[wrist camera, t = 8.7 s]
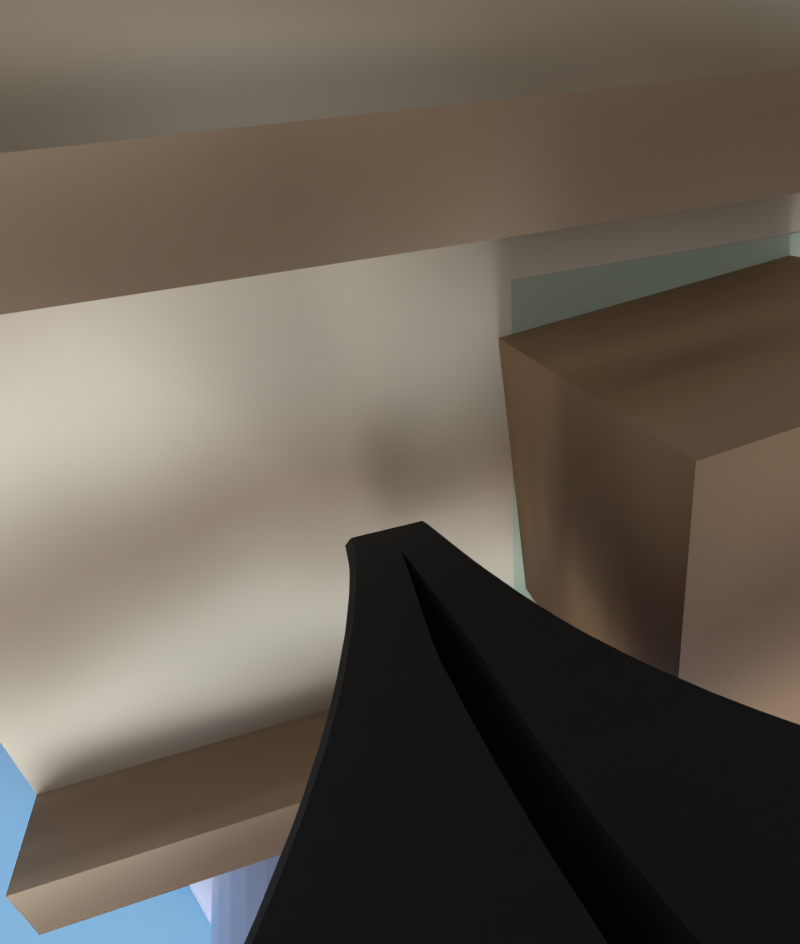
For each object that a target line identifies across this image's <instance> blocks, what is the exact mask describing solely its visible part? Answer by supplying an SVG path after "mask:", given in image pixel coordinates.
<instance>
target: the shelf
mask: <svg viewBox="0 0 800 944" xmlns="http://www.w3.org/2000/svg"><path fill="white" fill-rule="evenodd" d="M789 255H790V256H797V257H800V0H0V743H1V744H2V745H3V747H4V748H5V750H6V751H7V753H8V754H9V755H10V757H11V758H12V760H13V761H14V762H15V764H16V765H17V767H18V768H19V770H20V771H21V772H22V774H23V775H24V777H25V778H26V780H27V781H28V782H29V784H30V785H31V787H32V788H33V790H34V791H35V792H36V794H37V796H36V800H35V803H34V806H33V809H32V813H31V816H30V819H29V822H28V826H27V829H26V832H25V835H24V839H23V842H22V845H21V849H20V852H19V855H18V858H17V862H16V865H15V868H14V871H13V875H12V878H11V881H10V884H9V888H8V891H7V894H6V897H7V898H8V900H9V901H10V902H11V903H12V904H13V905H14V906H15V908H16V909H17V910H18V911H19V912H20V913H21V914H22V915H23V917H24V918H25V919H26V920H27V921H28V922H29V923H30V925H31V926H32V927H33V928H34V929H35V930H36V931H37V933H38V934H39V935H40V934H43V933H46V932H49V931H53V930H56V929H59V928H62V927H65V926H68V925H71V924H74V923H77V922H80V921H83V920H86V919H89V918H92V917H95V916H98V915H101V914H104V913H107V912H110V911H113V910H116V909H119V908H122V907H125V906H128V905H131V904H134V903H137V902H140V901H143V900H146V899H149V898H152V897H155V896H158V895H161V894H164V893H167V892H170V891H173V890H176V889H179V888H182V887H185V886H188V885H191V884H194V883H197V882H200V881H203V880H206V879H209V878H212V877H215V876H218V875H221V874H224V873H227V872H230V871H233V870H236V869H239V868H242V867H245V866H248V865H251V864H254V863H257V862H260V861H263V860H266V859H269V858H272V857H275V856H278V855H281V853H282V850H283V848H284V846H285V843H286V841H287V838H288V836H289V833H290V831H291V828H292V825H293V822H294V820H295V817H296V814H297V811H298V809H299V806H300V803H301V800H302V797H303V794H304V791H305V788H306V785H307V782H308V779H309V776H310V773H311V770H312V767H313V764H314V761H315V757H316V754H317V751H318V748H319V745H320V741H321V738H322V734H323V731H324V727H325V723H326V720H327V716H328V713H329V709H330V705H331V701H332V696H333V692H334V688H335V684H336V679H337V674H338V669H339V663H340V658H341V652H342V647H343V641H344V636H345V629H346V620H347V610H348V600H349V578H350V574H349V563H348V558H347V553H346V547H345V545H346V544H347V542H348V541H349V540H350V538H353V537H357V536H361V535H365V534H369V533H373V532H378V531H382V530H386V529H390V528H394V527H398V526H403V525H407V524H411V523H415V522H419V521H424V522H425V523H427V524H428V525H430V526H431V527H432V528H433V529H435V530H436V531H437V532H438V533H440V534H441V535H442V536H443V537H445V538H446V539H447V540H448V541H450V542H451V543H452V544H453V545H455V546H456V547H457V548H459V549H460V550H461V551H462V552H464V553H465V554H466V555H468V556H469V557H470V558H472V559H473V560H474V561H475V562H477V563H478V564H480V565H481V566H482V567H484V568H485V569H486V570H488V571H489V572H491V573H492V574H493V575H495V576H496V577H498V578H499V579H501V580H502V581H503V582H505V583H506V584H508V585H509V586H511V587H512V588H513V589H515V590H516V591H518V592H519V593H521V594H522V595H524V596H525V597H527V598H528V599H530V600H531V601H533V602H534V603H536V602H535V601H534V599H533V598H532V597H531V595H530V594H529V592H528V591H527V589H526V585H525V576H524V567H523V557H522V548H521V539H520V530H519V521H518V512H517V503H516V493H515V484H514V475H513V466H512V457H511V448H510V439H509V429H508V420H507V411H506V402H505V393H504V384H503V375H502V365H501V356H500V347H499V338H501V337H504V336H508V335H511V334H515V333H518V332H522V331H525V330H529V329H532V328H536V327H539V326H543V325H546V324H550V323H553V322H557V321H561V320H564V319H568V318H571V317H575V316H578V315H582V314H585V313H589V312H592V311H596V310H599V309H603V308H606V307H610V306H613V305H617V304H620V303H624V302H627V301H631V300H634V299H638V298H642V297H645V296H649V295H652V294H656V293H659V292H663V291H666V290H670V289H673V288H677V287H680V286H684V285H687V284H691V283H694V282H698V281H701V280H705V279H708V278H712V277H715V276H719V275H722V274H726V273H730V272H733V271H737V270H740V269H744V268H747V267H751V266H754V265H758V264H761V263H765V262H768V261H772V260H775V259H779V258H782V257H786V256H789Z"/></svg>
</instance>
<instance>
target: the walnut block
mask: <svg viewBox="0 0 800 944" xmlns="http://www.w3.org/2000/svg"><path fill="white" fill-rule="evenodd" d="M499 347H500V356H501V365H502V375H503V384H504V393H505V402H506V411H507V420H508V429H509V439H510V448H511V457H512V466H513V475H514V484H515V493H516V503H517V512H518V521H519V530H520V539H521V548H522V557H523V567H524V576H525V585H526V589H527V591H528V592H529V594H530V595H531V597H532V598H533V599H534V601H535V602H536V604H538V605H539V606H541V607H542V608H544V609H546V610H547V611H549V612H551V613H552V614H554V615H555V616H557V617H559V618H560V619H562V620H564V621H565V622H567V623H569V624H570V625H572V626H574V627H576V628H578V629H579V630H581V631H583V632H585V633H587V634H589V635H591V636H592V637H594V638H596V639H598V640H600V641H602V642H604V643H606V644H608V645H610V646H612V647H614V648H616V649H618V650H620V651H622V652H623V653H625V654H627V655H629V656H631V657H634V658H636V659H638V660H640V661H642V662H644V663H646V664H648V665H651V666H653V667H655V668H657V669H659V670H662V671H664V672H666V673H669V674H671V675H673V676H676V677H678V678H680V679H683V680H685V681H687V682H690V683H692V684H694V685H696V686H699V687H701V688H703V689H706V690H708V691H710V692H713V693H715V694H718V695H720V696H723V697H726V698H728V699H731V700H733V701H736V702H739V703H741V704H744V705H746V706H749V707H751V708H754V709H757V710H759V711H762V712H765V713H768V714H771V715H773V716H776V717H779V718H782V719H785V720H788V721H790V722H793V723H796V724H799V725H800V257H797V256H790V255H789V256H786V257H782V258H779V259H775V260H772V261H768V262H765V263H761V264H758V265H754V266H751V267H747V268H744V269H740V270H737V271H733V272H730V273H726V274H722V275H719V276H715V277H712V278H708V279H705V280H701V281H698V282H694V283H691V284H687V285H684V286H680V287H677V288H673V289H670V290H666V291H663V292H659V293H656V294H652V295H649V296H645V297H642V298H638V299H634V300H631V301H627V302H624V303H620V304H617V305H613V306H610V307H606V308H603V309H599V310H596V311H592V312H589V313H585V314H582V315H578V316H575V317H571V318H568V319H564V320H561V321H557V322H553V323H550V324H546V325H543V326H539V327H536V328H532V329H529V330H525V331H522V332H518V333H515V334H511V335H508V336H504V337H501V338H499Z"/></svg>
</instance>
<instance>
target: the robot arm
mask: <svg viewBox="0 0 800 944" xmlns="http://www.w3.org/2000/svg"><path fill="white" fill-rule="evenodd" d="M345 547H346V553H347V558H348V563H349V574H350V578H349V600H348V610H347V620H346V629H345V636H344V641H343V647H342V652H341V658H340V663H339V669H338V674H337V679H336V684H335V688H334V692H333V696H332V701H331V705H330V709H329V713H328V716H327V720H326V723H325V727H324V731H323V734H322V738H321V741H320V745H319V748H318V751H317V754H316V757H315V761H314V764H313V767H312V770H311V773H310V776H309V779H308V782H307V785H306V788H305V791H304V794H303V797H302V800H301V803H300V806H299V809H298V811H297V814H296V817H295V820H294V822H293V825H292V828H291V831H290V833H289V836H288V838H287V841H286V843H285V846H284V848H283V850H282V853H281V855H278V856H275V857H272V858H269V859H266V860H263V861H260V862H257V863H254V864H251V865H248V866H245V867H242V868H239V869H236V870H233V871H230V872H227V873H224V874H221V875H218V876H215V877H212V878H209V879H206V880H203V881H200V882H197V883H194V884H191V885H189V886H190V888H191V890H192V892H193V894H194V895H195V897H196V899H197V901H198V903H199V904H200V906H201V908H202V910H203V912H204V913H205V915H206V917H207V919H208V921H209V922H210V924H211V943H210V944H800V725H799V724H796V723H793V722H790V721H788V720H785V719H782V718H779V717H776V716H773V715H771V714H768V713H765V712H762V711H759V710H757V709H754V708H751V707H749V706H746V705H744V704H741V703H739V702H736V701H733V700H731V699H728V698H726V697H723V696H720V695H718V694H715V693H713V692H710V691H708V690H706V689H703V688H701V687H699V686H696V685H694V684H692V683H690V682H687V681H685V680H683V679H680V678H678V677H676V676H673V675H671V674H669V673H666V672H664V671H662V670H659V669H657V668H655V667H653V666H651V665H648V664H646V663H644V662H642V661H640V660H638V659H636V658H634V657H631V656H629V655H627V654H625V653H623V652H622V651H620V650H618V649H616V648H614V647H612V646H610V645H608V644H606V643H604V642H602V641H600V640H598V639H596V638H594V637H592V636H591V635H589V634H587V633H585V632H583V631H581V630H579V629H578V628H576V627H574V626H572V625H570V624H569V623H567V622H565V621H564V620H562V619H560V618H559V617H557V616H555V615H554V614H552V613H551V612H549V611H547V610H546V609H544V608H542V607H541V606H539V605H538V604H536V603H534V602H533V601H531V600H530V599H528V598H527V597H525V596H524V595H522V594H521V593H519V592H518V591H516V590H515V589H513V588H512V587H511V586H509V585H508V584H506V583H505V582H503V581H502V580H501V579H499V578H498V577H496V576H495V575H493V574H492V573H491V572H489V571H488V570H486V569H485V568H484V567H482V566H481V565H480V564H478V563H477V562H475V561H474V560H473V559H472V558H470V557H469V556H468V555H466V554H465V553H464V552H462V551H461V550H460V549H459V548H457V547H456V546H455V545H453V544H452V543H451V542H450V541H448V540H447V539H446V538H445V537H443V536H442V535H441V534H440V533H438V532H437V531H436V530H435V529H433V528H432V527H431V526H430V525H428V524H427V523H425V522H424V521H419V522H415V523H411V524H407V525H403V526H398V527H394V528H390V529H386V530H382V531H378V532H373V533H369V534H365V535H361V536H357V537H353V538H350V540H349V541H348V542H347V544H346V545H345Z"/></svg>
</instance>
